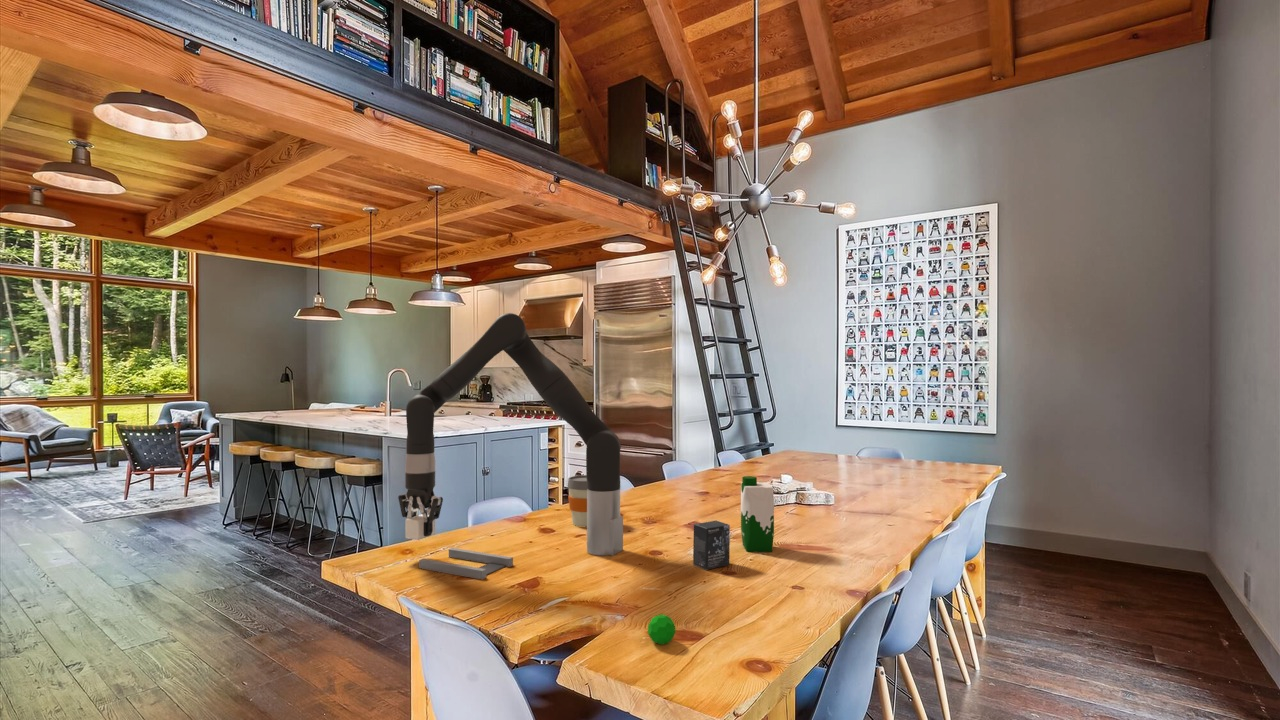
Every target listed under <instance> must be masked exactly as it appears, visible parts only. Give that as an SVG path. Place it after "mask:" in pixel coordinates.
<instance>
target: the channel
mask: <svg viewBox="0 0 1280 720" xmlns="http://www.w3.org/2000/svg"><path fill="white" fill-rule="evenodd" d="M448 558H453V559H457V560H458V559H460V560H464V561H470V560H471V562H478V563H484V565H482V566H479V567H475V566H470V565H466V564H465V565H464V564H460V563H459V564H457V563H452V562H446V561H440V560H435V559H429V558H422V559H418V568H419V569H421V568H422V570H426V571H427V570H428V571H432V572H437V573H444V574H449V575H450V574H451V575H455V576H460V577H461V576H462V577H465V578H466V577H467V578H473V579H478V580H484V579H486V578H487V576H489V575H490V574H493V573H495V572H497V571H499V570H502V569H504V568H505V567H508V568H510V567H512V566H513V565H514V557H513V556H507V555H501V554H494V553H487V552H480V551H475V550H468V549H463V548H457V547H456V548H455V547H451V548H449V549H448Z"/></svg>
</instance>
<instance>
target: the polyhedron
mask: <svg viewBox="0 0 1280 720" xmlns="http://www.w3.org/2000/svg"><path fill="white" fill-rule="evenodd" d="M647 633H648V636H649V637H650V640H651V641H652V642H653V643H656V645H657V644H658V645H660V644H661V645H662V646H663V645H666V644H669V643H670V642H671V641H672V640H673V638H674V636H675V634H676V625H675V623H674V621H673V619H672V617H670V616H668V615H666V614H658V615H655V616H653V617H651V620H650V622H649V623H648V625H647ZM661 645H660V646H661Z"/></svg>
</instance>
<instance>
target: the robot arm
mask: <svg viewBox="0 0 1280 720" xmlns="http://www.w3.org/2000/svg"><path fill="white" fill-rule="evenodd" d="M502 352H505V353H506V354H507V355H508V356H509V358H510V359H512V360H513V362H515V363H516V364H517V366H518V367H519V368H520V369H521V370H522V372H523V373H524V375H525V377H526V379H527V380H528V381H529V382H530V384H531V385H532V387H533V388H534V389H535V391H536V392H537V393H538V395H539V396H540V397H541V398H542V400H543V401H544V402H545V404H547V406H548V407H549V408H550V409H551V410H552V411H553V412H554V413H555V414H556V415H557V416H558V417H560V418H561V419H562V420H563V421H565V422H566V423H567V424H568V425H570V426H571V427H572V428H573V429H574V431H575V432H576V433H577V434H578V436H579V437H580V438H581V440H582V441H583V442H584V443H583V444H584V445H585V446H586V447H585V448H586V449H585V450H586V451H585V453H586V455H585V461H586V462H585V468H586V470H585V471H586V474H585V475H586V478H587V527H586V552H587V553H588V554H590V555H594V556H615V555H616V554H618V553H620V552H622V551H624V516H623V515H621V450H622V449H621V448H622V444H621V440H620V437H619V436H618V435H617V434H616V433H615V432H614V431H613V430H612V429H611V428H610V427H609V426H607V425H606V424H605V422H603V421H602V419H601V418H599V417H598V416H597V414H596V413H595V412H594V411H593V410H592V408H591V406H590V405H589V404H588V402H587V401H586V399H585V398H584V397H583V395H582V393H581V392H580V391H579V390H578V388H577V387H576V386H575V385H574V383H573V382H572V381H571V380H570V378H569V377H568V376H567V375H566V373H565V372H563V370H562V369H561V368H560V367H559V366H558V365H557V364H555V363H554V362H553V361H552V360H550V359H549V358H548V357H547V356H545V354H544V353H542V352H541V350H540V349H538V347H537V346H536V344H535V343H534V342H533V340H532V339H531V338H530V336H529V334H528V333H527V329H526V323H525V321H524V320H523V319H522V317H521V316H519V315H518V314H516V313H513V312H507V313H503V314H501V315H499V316H497V318H496V319H495V320H494V321H493V323H492V324H491V325H490V326H489V328H488V329H486V331H485V332H484V333H483V334H482V336H481V337H480V338H479V339H478V340H477V341H476V342H475V343H474V344H473V345H472V346H471V347H470V348H469V349H468V350H466V352H464V353H463V354H462V355H461V356H460V357H458V358H457V359H456V360H455V361H454V362H453V363H452V364H450V365H448V367H446V368H445V369H444V370H443V371H442V372H441V373H440V374H438V375H437V376H436V377H435V378H434V379H433V380H432V382H431V383H430V384H428V385H427V386H426V387H424V388H423V389H422V390H420V391H419V392H417V394H416V395H414V396H413V397H412V398H411V399H409V400H408V402H407V403H406V407H405V414H406V431H407V435H406V446H405V447H406V451H405V453H406V458H405V462H404V463H405V466H404V467H405V469H404V470H405V472H404V476H405V478H404V479H405V481H404V482H405V484H404V485H405V487H404V488H405V489H407V490H406V493H403V494H400V495H398V502H399V507H400V514H401V517H402V518H405V519H408V518H411V517H415V516H418V514H419V512H420V515H423V519H424V536H429V537H431V536H430V535H431V534H432V531H433V528H432V527H433V520H435V521H436V520H438V519H439V518H440V514H441V509H442V506H443V501H444V499H443V497H442V496H439V497H438V496H436V495H435V492H434V488H435V486H436V454H435V433H434V426H435V425H434V424H435V413H436V412H438V410H440V408H441V407H442V406H444V404H446V402H448V401H449V400H451V399H452V398H454V397H455V396H457V395H458V394H459V393H460V392H461V391H462V390H463V389H465V388H466V387H467V386H468V385H469V384H471V382H472V381H473V380H474V379H475V378H476V376H478V374H480V372H481V371H482V370H483V368H484V367H485V366H486V365H487V364H489V362H490V361H491V360H493V358H494V357H495V356H497V355H498V354H500V353H502ZM428 515H429V517H428Z"/></svg>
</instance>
